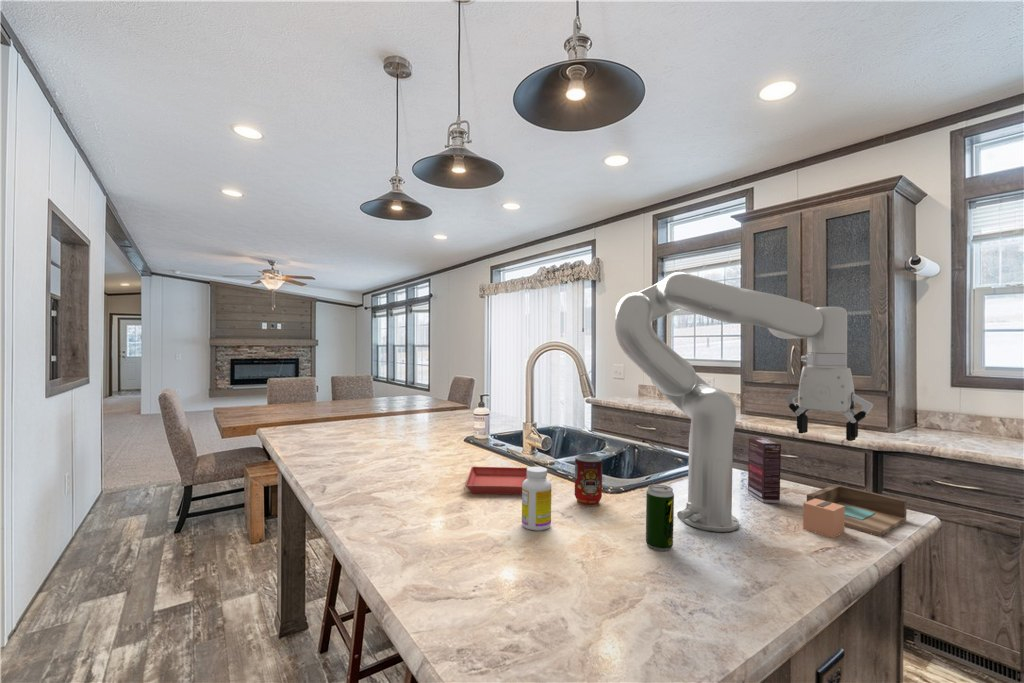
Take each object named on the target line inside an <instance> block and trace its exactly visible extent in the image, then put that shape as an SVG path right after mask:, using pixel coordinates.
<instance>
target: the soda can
mask: <svg viewBox="0 0 1024 683" xmlns="http://www.w3.org/2000/svg"><path fill="white" fill-rule="evenodd" d="M574 497H575V498H576V502H577V504H578V503H579V504H578V505H581V506H585V507H595V506H598V505H599V504H600V501H601V500H602V497H603V458H602V457H600V455H597V454H595V453H590V452H589V453H588V452H585V453H579V454H577V456H576V457H575V458H574Z"/></svg>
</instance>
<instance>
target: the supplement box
mask: <svg viewBox="0 0 1024 683" xmlns="http://www.w3.org/2000/svg"><path fill="white" fill-rule="evenodd" d="M781 450H782V443H779V442H776V441H773V440H771V439H768V438H766V437H757V436H755V437H753V436H751V437H748V463H747V464H748V466H747V468H748V472H747V476H748V477H747V494H749V495H751V496H752V497H754V498H755V499H757V500H759V501H760V502H761V503H766V504H780V503H781V462H782V461H781V460H782V458H781V456H782V453H781V452H782V451H781Z"/></svg>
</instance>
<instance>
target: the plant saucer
mask: <svg viewBox="0 0 1024 683" xmlns="http://www.w3.org/2000/svg"><path fill="white" fill-rule="evenodd" d="M527 468H528V467H506V466H504V467H503V466H502V467H501V466H500V467H499V466H472V467H470V469H469V470H470V471H469V473H468V476H467V480H466V482H465V487H466V488H467V489H468V491H469V492H470V493H471V494H480V495H481V494H487V495H488V494H489V495H490V494H491V495H493V494H494V495H495V494H496V495H522V483H523V481H524V480H525V479H527V478H528V476H527Z"/></svg>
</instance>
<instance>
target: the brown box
mask: <svg viewBox="0 0 1024 683" xmlns="http://www.w3.org/2000/svg"><path fill="white" fill-rule="evenodd" d="M802 510H803V513H802V515H803V516H802V517H803V518H802V520H803V522H802V525H803V526H802V529H803V530H805V529H806V531H808V530H809V531H810V532H812V531H813V532H812V533H815V532H816V533H815V534H818V533H819V535H821V534H822V536H824V535H825V537H828V538H831V537H832V538H831V539H834V538H836V537H838V536H840V535H841V533H842V534H844V533H845V526H844V521H845V506H843V505H839V504H835V503H831V502H827V501H823V500H820V499H816V498H815V499H812V500H810V501H807V500H806V501H805V502H803V509H802ZM843 532H844V533H843ZM839 534H840V535H839ZM837 535H838V536H837Z"/></svg>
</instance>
